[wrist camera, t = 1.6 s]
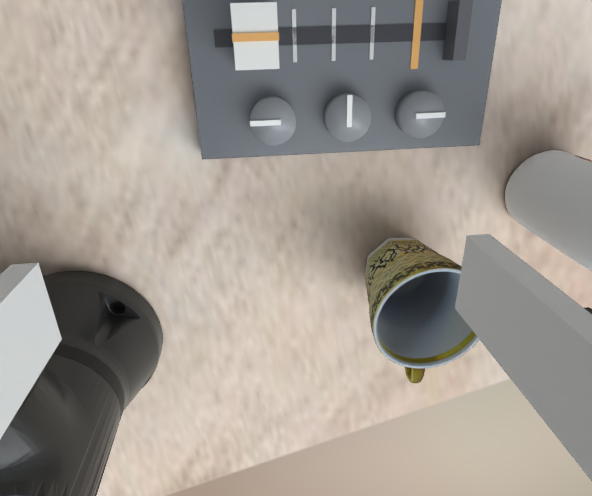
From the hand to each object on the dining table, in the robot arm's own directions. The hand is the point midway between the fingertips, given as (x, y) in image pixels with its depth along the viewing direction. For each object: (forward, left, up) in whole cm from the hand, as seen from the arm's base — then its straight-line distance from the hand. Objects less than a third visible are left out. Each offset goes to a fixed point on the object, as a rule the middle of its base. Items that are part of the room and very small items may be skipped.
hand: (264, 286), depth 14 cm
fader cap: (+1, +7, -24) cm, 25 cm away
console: (+8, +6, -27) cm, 28 cm away
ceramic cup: (+14, -16, -27) cm, 34 cm away
